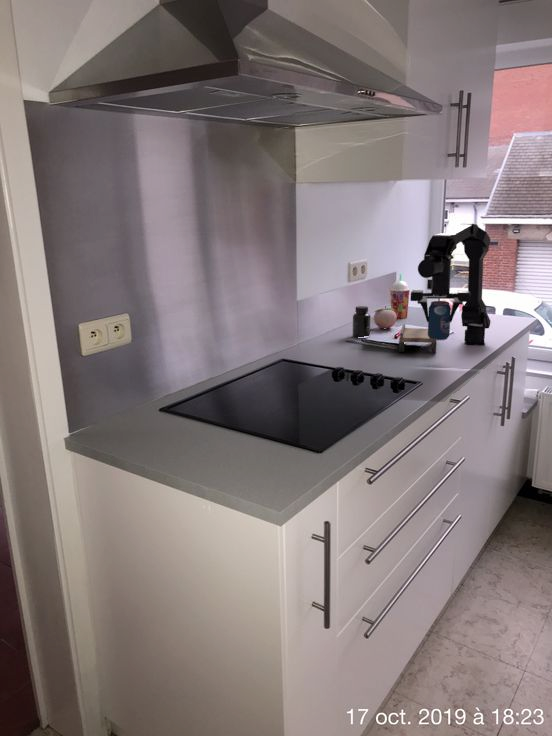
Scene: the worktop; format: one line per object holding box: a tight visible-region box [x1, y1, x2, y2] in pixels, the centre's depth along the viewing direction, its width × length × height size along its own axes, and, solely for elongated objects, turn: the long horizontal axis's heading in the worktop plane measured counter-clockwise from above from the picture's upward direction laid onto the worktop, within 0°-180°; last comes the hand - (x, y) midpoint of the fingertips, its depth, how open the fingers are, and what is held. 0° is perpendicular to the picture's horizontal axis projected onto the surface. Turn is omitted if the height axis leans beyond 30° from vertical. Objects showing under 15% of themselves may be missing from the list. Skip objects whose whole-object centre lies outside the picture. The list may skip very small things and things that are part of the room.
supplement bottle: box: [352, 305, 371, 339], centre depth 240 cm, size 7×7×12 cm
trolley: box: [398, 323, 437, 354], centre depth 222 cm, size 13×17×7 cm
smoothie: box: [390, 273, 411, 320], centre depth 269 cm, size 8×8×20 cm
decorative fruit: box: [373, 305, 398, 329], centre depth 251 cm, size 9×8×10 cm
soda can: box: [427, 300, 452, 341], centre depth 203 cm, size 7×7×12 cm
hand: (439, 321), depth 203 cm, fingers closed on soda can, 7 cm apart
